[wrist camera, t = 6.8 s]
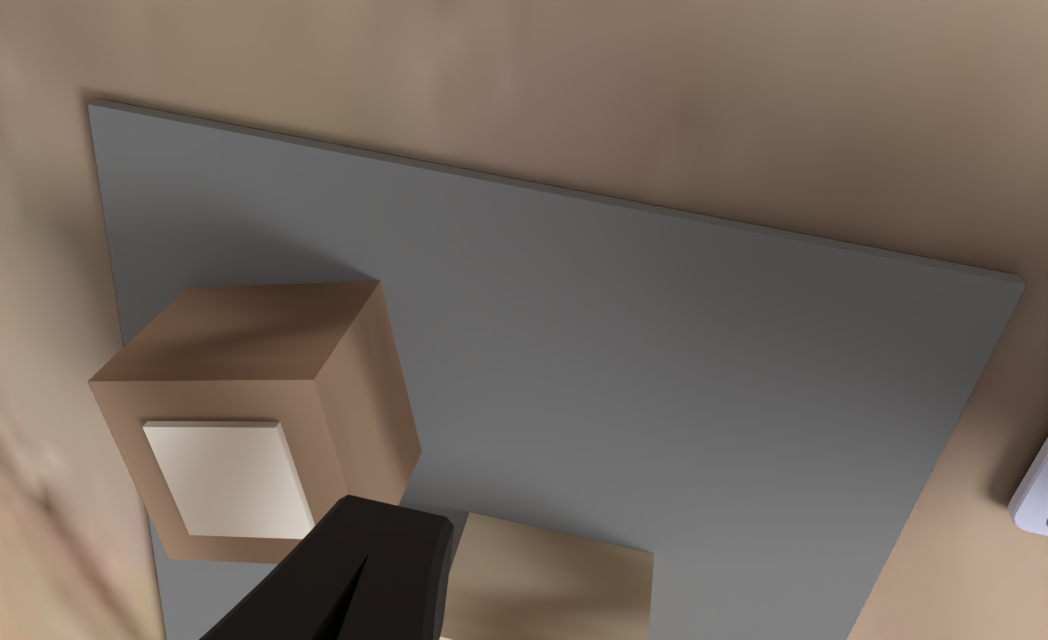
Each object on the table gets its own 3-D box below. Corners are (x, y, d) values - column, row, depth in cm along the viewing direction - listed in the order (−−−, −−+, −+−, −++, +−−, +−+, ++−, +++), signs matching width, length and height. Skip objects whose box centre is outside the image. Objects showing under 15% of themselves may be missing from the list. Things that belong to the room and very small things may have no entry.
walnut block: (380, 280, 20) (309, 386, 16) (421, 451, 22) (368, 574, 19) (186, 287, 21) (81, 387, 17) (246, 449, 23) (164, 565, 20)
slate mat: (1020, 275, 18) (1026, 284, 17) (724, 866, 30) (725, 878, 30) (98, 98, 19) (87, 104, 19) (186, 729, 32) (181, 739, 32)
